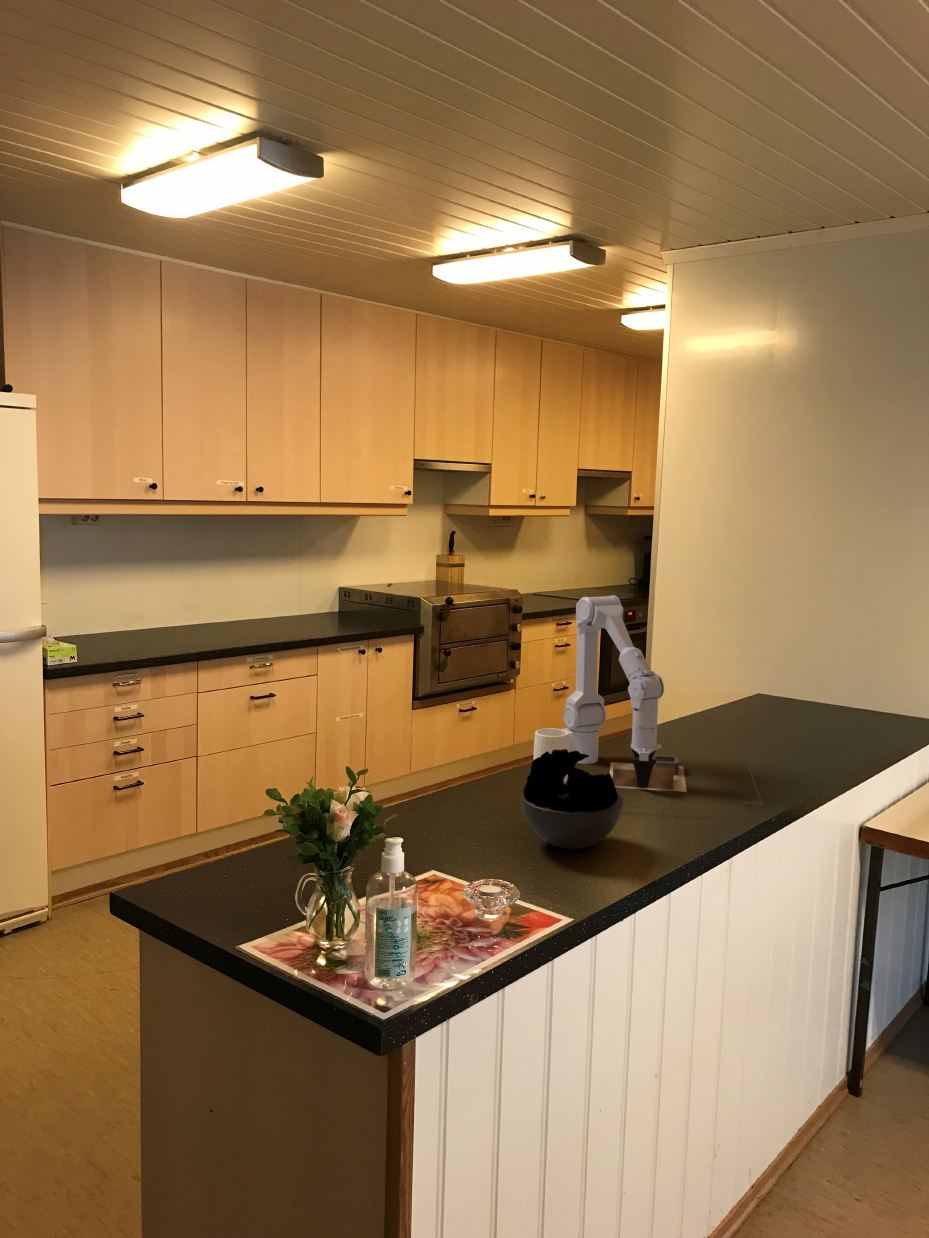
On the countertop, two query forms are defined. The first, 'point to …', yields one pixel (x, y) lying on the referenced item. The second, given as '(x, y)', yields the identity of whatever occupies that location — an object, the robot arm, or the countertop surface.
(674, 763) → the bracket
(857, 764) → the countertop surface
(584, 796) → the bowl of black rocks
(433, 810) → the countertop surface
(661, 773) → the rail
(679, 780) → the mounting board
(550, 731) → the cup
